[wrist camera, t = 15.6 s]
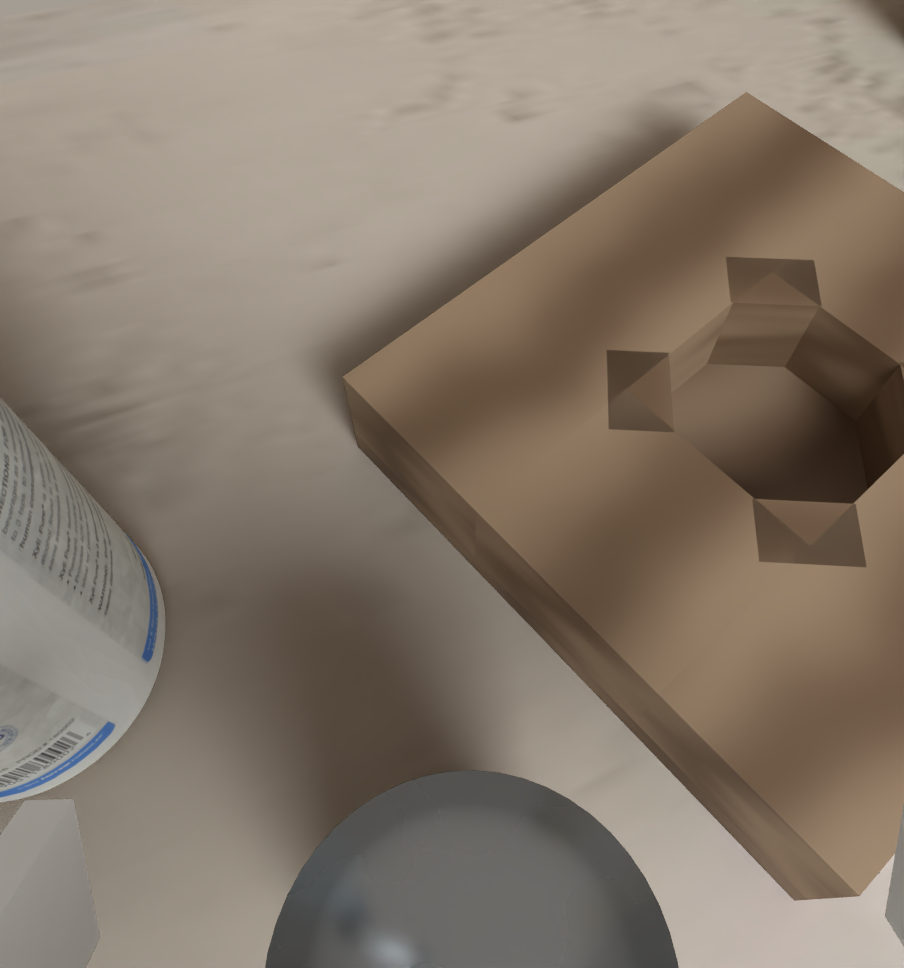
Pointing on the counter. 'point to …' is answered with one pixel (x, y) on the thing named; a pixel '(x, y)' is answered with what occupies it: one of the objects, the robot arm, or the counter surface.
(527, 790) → the silver capped jar
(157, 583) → the supplement tub
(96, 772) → the counter surface
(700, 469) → the walnut socket block
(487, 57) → the counter surface
